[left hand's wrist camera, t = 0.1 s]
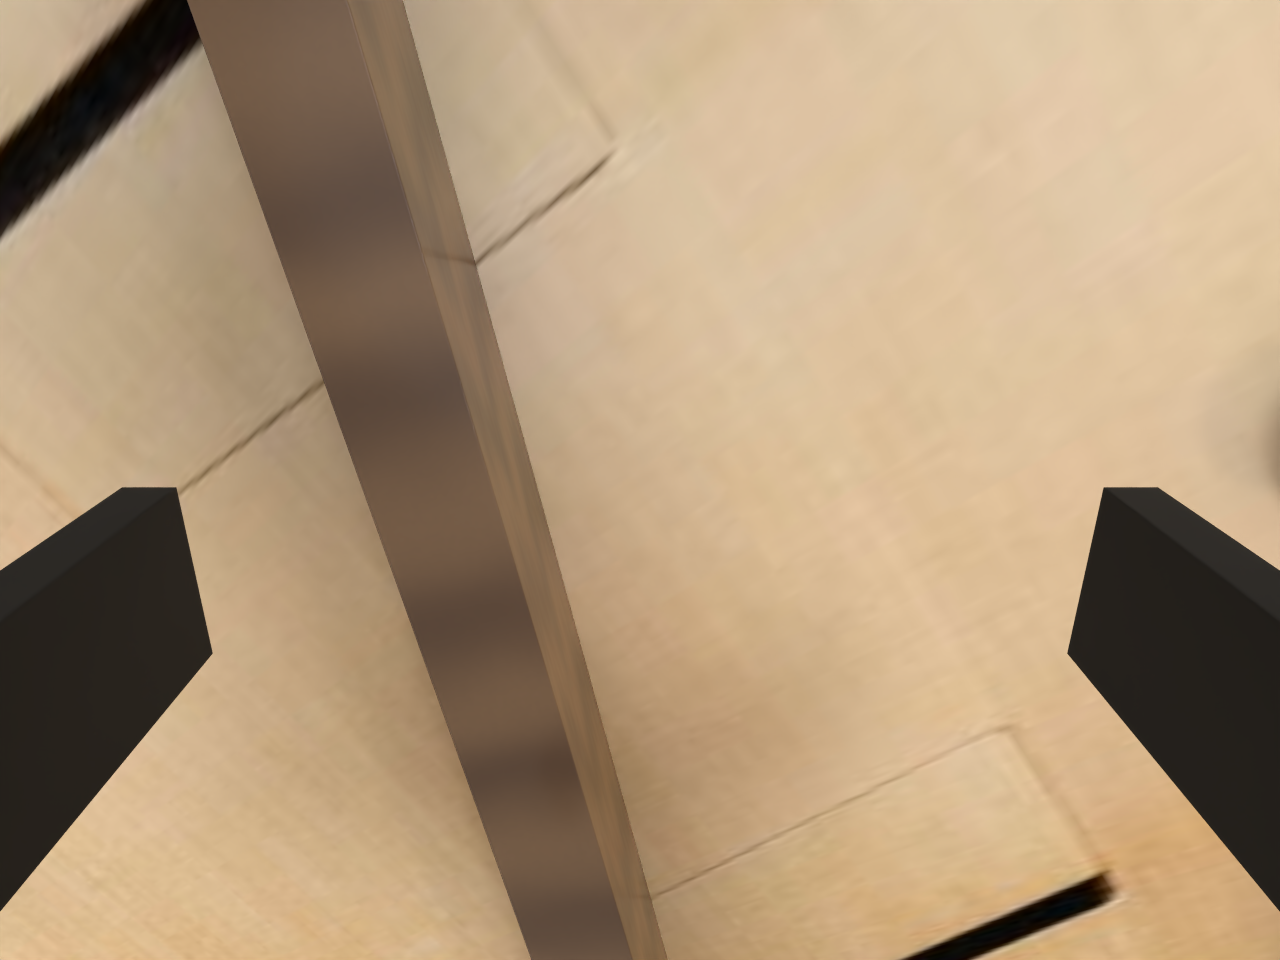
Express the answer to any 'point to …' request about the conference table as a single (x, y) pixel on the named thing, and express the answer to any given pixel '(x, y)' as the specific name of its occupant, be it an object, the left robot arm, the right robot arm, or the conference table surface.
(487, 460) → the bar
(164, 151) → the conference table surface
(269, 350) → the conference table surface
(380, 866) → the conference table surface
